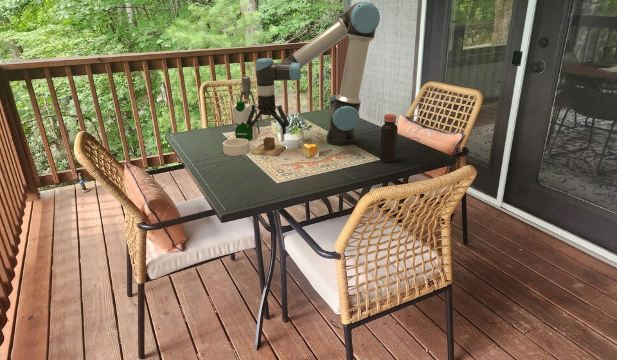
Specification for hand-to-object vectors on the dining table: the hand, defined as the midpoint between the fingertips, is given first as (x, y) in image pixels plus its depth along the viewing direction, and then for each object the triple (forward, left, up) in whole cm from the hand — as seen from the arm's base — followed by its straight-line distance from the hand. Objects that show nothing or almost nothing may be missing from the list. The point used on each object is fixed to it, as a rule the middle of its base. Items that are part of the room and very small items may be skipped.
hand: (268, 140), depth 194 cm
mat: (0, 0, -6) cm, 6 cm away
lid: (0, 0, -5) cm, 5 cm away
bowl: (+15, +4, -6) cm, 17 cm away
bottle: (-55, 0, -6) cm, 55 cm away
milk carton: (+19, -15, -6) cm, 25 cm away
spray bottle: (+22, -30, -6) cm, 38 cm away
